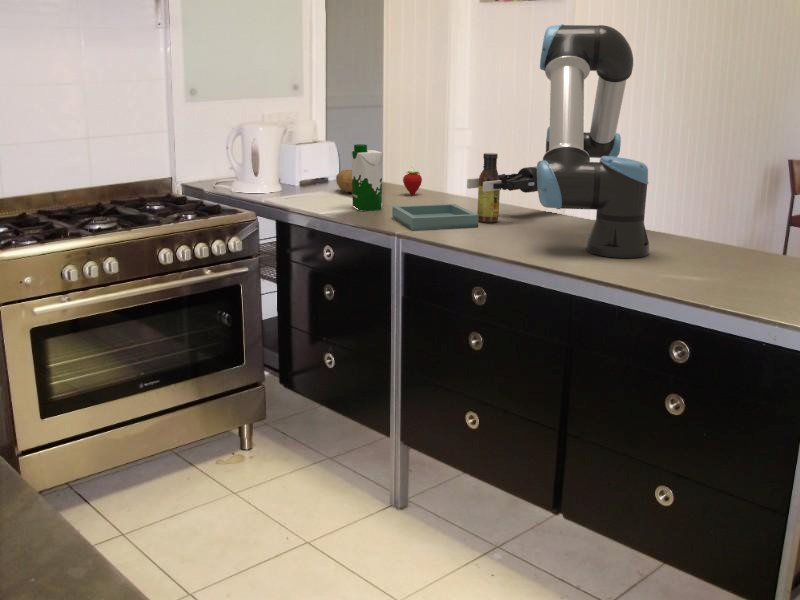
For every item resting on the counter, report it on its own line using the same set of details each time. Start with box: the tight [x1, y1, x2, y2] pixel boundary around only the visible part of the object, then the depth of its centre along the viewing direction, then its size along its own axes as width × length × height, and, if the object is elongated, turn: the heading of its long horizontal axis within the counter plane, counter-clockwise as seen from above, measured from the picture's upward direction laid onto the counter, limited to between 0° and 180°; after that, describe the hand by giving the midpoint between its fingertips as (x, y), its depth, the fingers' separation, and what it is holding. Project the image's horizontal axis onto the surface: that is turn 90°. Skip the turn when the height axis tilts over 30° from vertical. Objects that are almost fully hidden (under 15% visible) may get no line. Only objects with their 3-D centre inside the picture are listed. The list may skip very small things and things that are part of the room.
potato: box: [336, 169, 352, 193], centre depth 304 cm, size 10×14×8 cm
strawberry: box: [402, 165, 423, 196], centre depth 299 cm, size 6×8×10 cm
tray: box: [391, 203, 479, 232], centre depth 252 cm, size 20×20×4 cm
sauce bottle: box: [476, 152, 501, 224], centre depth 253 cm, size 6×6×20 cm
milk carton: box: [350, 143, 384, 211], centre depth 271 cm, size 9×9×20 cm
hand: (475, 185), depth 250 cm, fingers closed on sauce bottle, 6 cm apart
